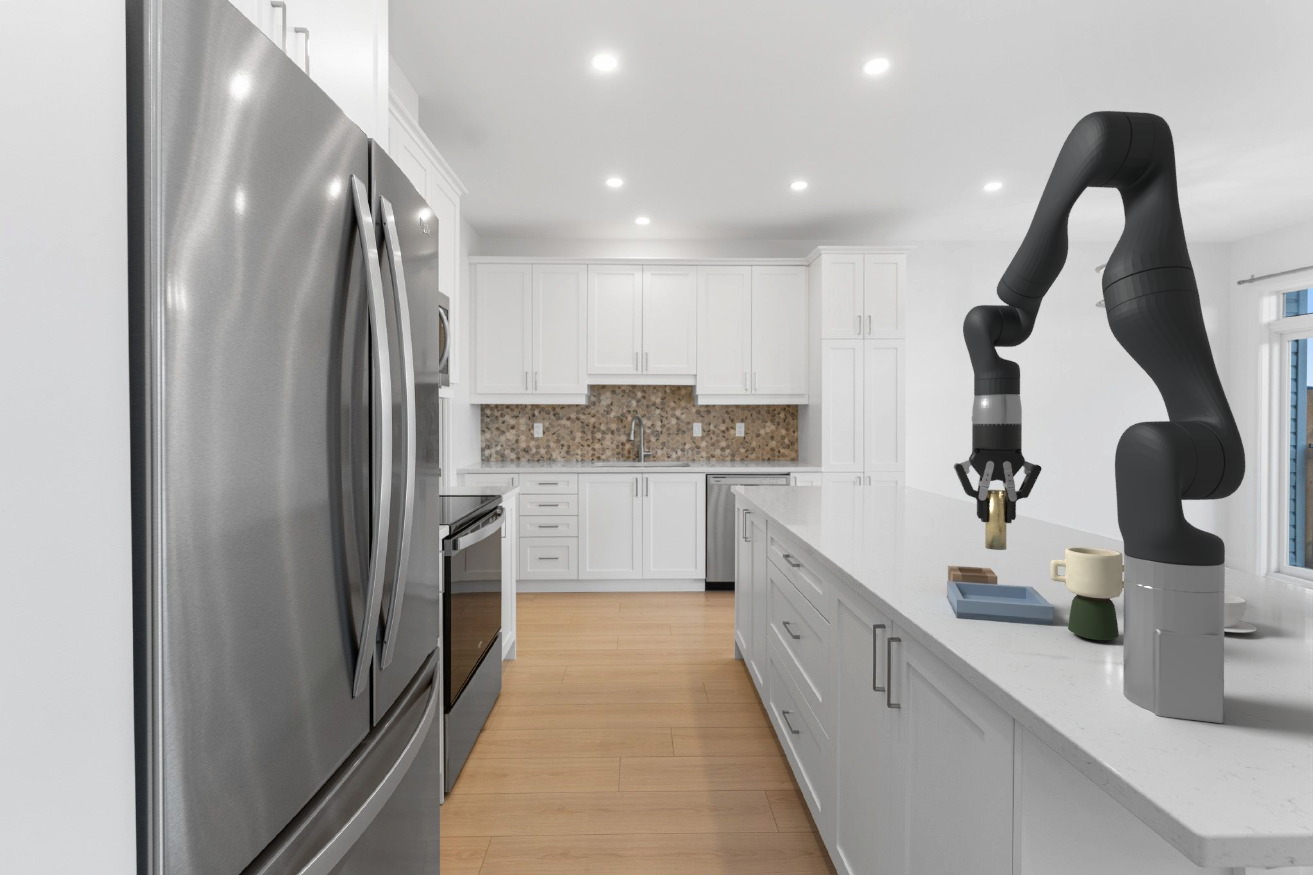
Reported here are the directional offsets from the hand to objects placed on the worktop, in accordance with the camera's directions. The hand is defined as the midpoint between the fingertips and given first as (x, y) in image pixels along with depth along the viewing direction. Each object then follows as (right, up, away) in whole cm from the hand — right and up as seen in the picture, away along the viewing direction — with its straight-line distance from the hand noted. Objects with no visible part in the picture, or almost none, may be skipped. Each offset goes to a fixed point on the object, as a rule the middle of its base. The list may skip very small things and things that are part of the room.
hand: (996, 521), depth 111 cm
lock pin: (0, -5, 0) cm, 5 cm away
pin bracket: (+2, -15, +13) cm, 20 cm away
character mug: (+7, -16, -15) cm, 22 cm away
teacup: (+31, -16, -8) cm, 35 cm away
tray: (0, -15, 0) cm, 15 cm away
